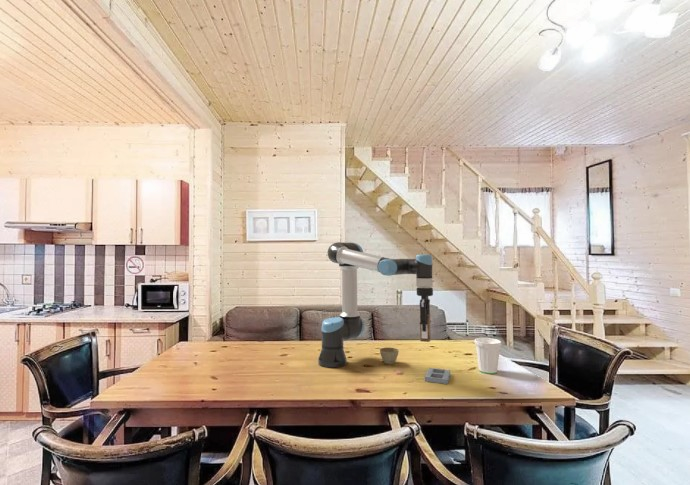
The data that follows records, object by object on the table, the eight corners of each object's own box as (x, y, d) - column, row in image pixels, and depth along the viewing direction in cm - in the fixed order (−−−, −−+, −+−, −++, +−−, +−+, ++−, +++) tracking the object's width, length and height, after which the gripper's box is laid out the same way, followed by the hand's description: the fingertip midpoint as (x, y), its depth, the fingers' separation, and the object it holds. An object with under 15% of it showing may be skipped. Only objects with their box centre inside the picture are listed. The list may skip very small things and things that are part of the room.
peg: (420, 341, 167) (420, 315, 167) (422, 339, 170) (421, 314, 171) (429, 341, 165) (428, 315, 166) (430, 340, 169) (430, 314, 169)
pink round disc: (392, 373, 175) (392, 373, 175) (394, 370, 180) (394, 369, 180) (402, 374, 173) (402, 374, 173) (404, 371, 178) (404, 371, 178)
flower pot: (398, 366, 185) (398, 352, 186) (379, 365, 187) (378, 351, 188) (399, 360, 195) (399, 347, 195) (380, 359, 197) (380, 346, 197)
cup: (481, 365, 187) (481, 336, 188) (505, 371, 178) (505, 340, 179) (470, 371, 179) (470, 340, 179) (495, 377, 170) (494, 345, 170)
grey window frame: (424, 381, 165) (424, 376, 165) (429, 371, 178) (429, 367, 178) (447, 384, 161) (447, 379, 161) (450, 374, 174) (450, 370, 174)
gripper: (429, 288, 159) (430, 341, 159) (435, 285, 175) (436, 334, 174) (412, 288, 162) (413, 340, 161) (420, 285, 178) (420, 332, 177)
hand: (425, 337), depth 168 cm, fingers closed on peg, 4 cm apart
